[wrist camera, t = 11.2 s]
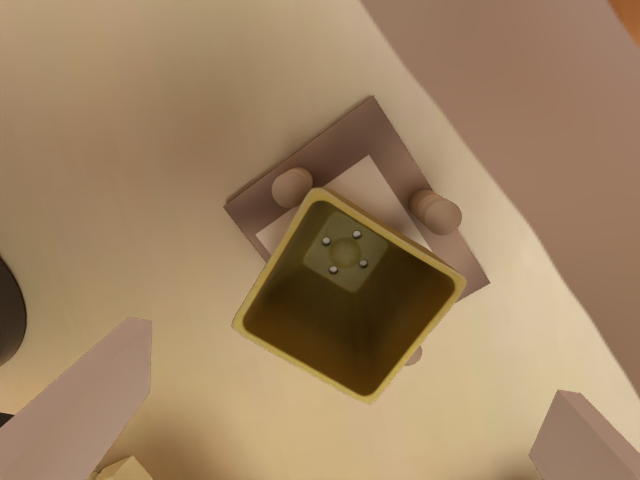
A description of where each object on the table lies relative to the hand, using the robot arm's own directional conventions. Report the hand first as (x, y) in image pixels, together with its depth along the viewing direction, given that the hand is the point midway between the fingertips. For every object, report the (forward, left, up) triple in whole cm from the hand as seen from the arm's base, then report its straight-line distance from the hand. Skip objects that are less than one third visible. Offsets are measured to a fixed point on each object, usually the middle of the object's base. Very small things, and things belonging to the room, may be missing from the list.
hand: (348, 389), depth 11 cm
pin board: (0, +1, -16) cm, 16 cm away
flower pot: (0, 0, -15) cm, 15 cm away
